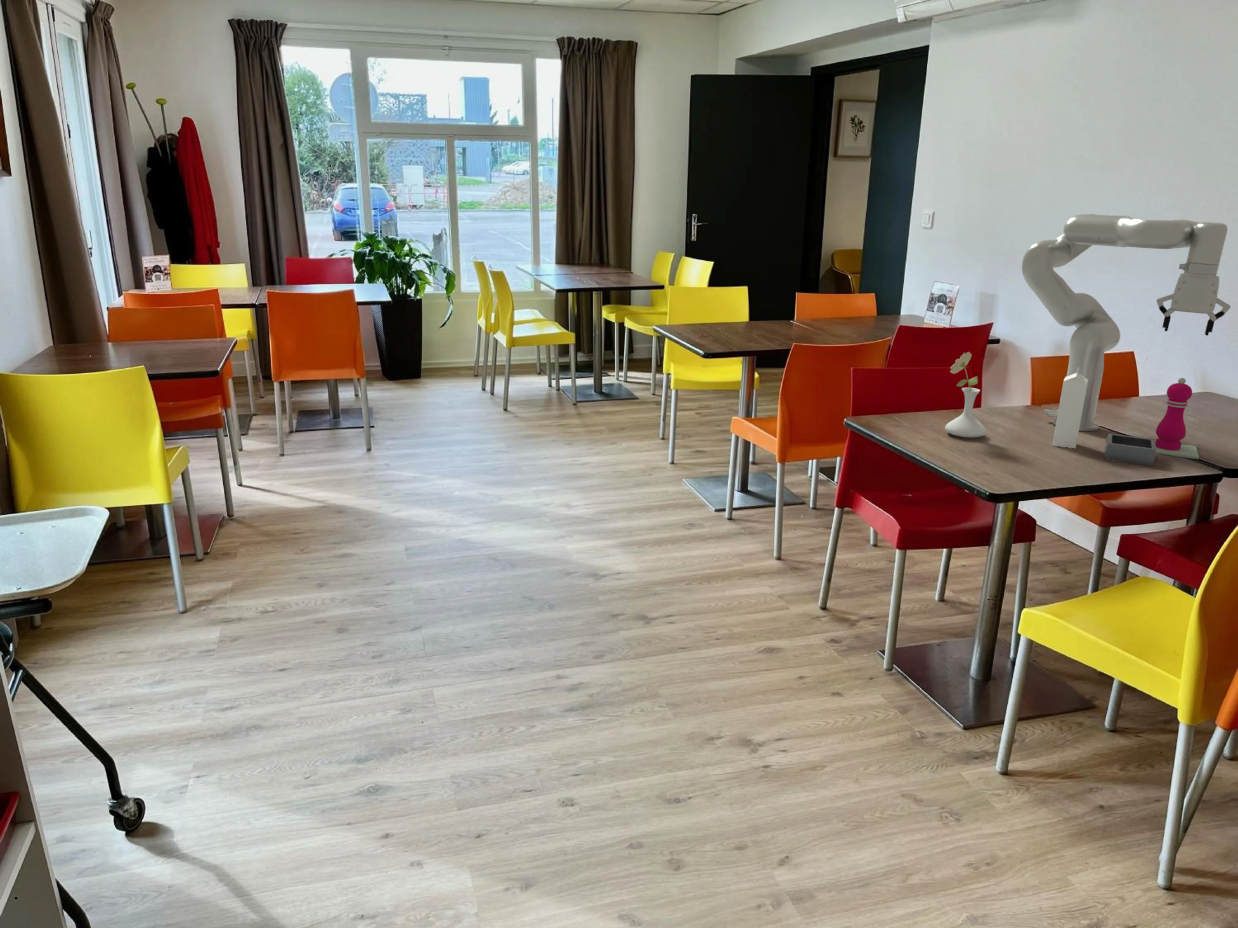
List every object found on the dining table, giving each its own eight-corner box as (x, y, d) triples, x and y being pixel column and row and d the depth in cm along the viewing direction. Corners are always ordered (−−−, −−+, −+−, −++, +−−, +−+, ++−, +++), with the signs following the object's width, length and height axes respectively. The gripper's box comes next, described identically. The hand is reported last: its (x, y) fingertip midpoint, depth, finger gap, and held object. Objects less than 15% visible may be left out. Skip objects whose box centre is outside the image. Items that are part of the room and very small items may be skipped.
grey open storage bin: (1104, 459, 240) (1107, 443, 238) (1105, 448, 249) (1108, 433, 248) (1152, 466, 235) (1156, 450, 233) (1151, 454, 244) (1154, 439, 243)
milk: (1076, 444, 254) (1091, 368, 247) (1075, 449, 249) (1090, 372, 242) (1053, 440, 256) (1067, 366, 249) (1051, 445, 251) (1065, 369, 244)
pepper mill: (1186, 451, 245) (1202, 381, 239) (1158, 450, 247) (1173, 380, 240) (1176, 444, 252) (1191, 375, 246) (1148, 442, 253) (1163, 374, 247)
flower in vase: (968, 428, 267) (979, 346, 259) (993, 439, 257) (1006, 354, 249) (931, 431, 263) (942, 348, 256) (956, 442, 253) (968, 356, 245)
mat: (1140, 451, 247) (1140, 449, 247) (1139, 440, 257) (1139, 438, 257) (1198, 459, 241) (1199, 457, 241) (1195, 447, 251) (1195, 445, 251)
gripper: (1164, 268, 240) (1149, 331, 246) (1240, 274, 232) (1223, 338, 237) (1164, 266, 246) (1150, 327, 252) (1238, 271, 238) (1222, 334, 243)
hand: (1185, 332), depth 244 cm, fingers open, 9 cm apart
